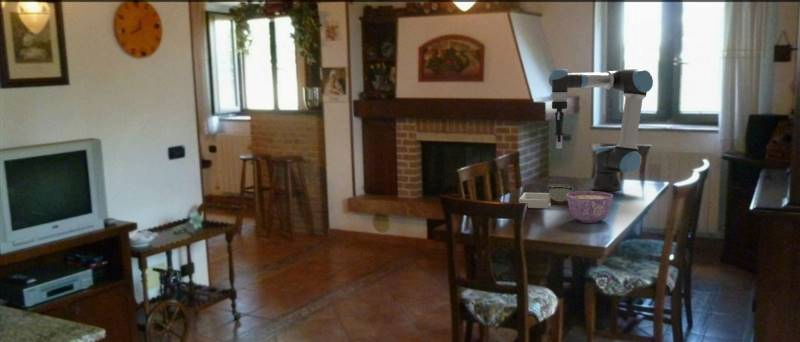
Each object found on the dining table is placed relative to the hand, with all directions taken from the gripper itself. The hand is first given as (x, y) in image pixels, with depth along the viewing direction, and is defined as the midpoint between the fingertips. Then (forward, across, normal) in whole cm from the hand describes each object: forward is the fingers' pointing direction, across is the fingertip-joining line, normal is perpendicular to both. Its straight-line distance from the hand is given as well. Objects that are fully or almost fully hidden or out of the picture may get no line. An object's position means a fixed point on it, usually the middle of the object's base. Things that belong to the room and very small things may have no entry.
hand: (559, 148), depth 372 cm
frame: (+27, +11, -10) cm, 31 cm away
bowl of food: (+27, +45, +17) cm, 55 cm away
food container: (+27, +11, +2) cm, 29 cm away
